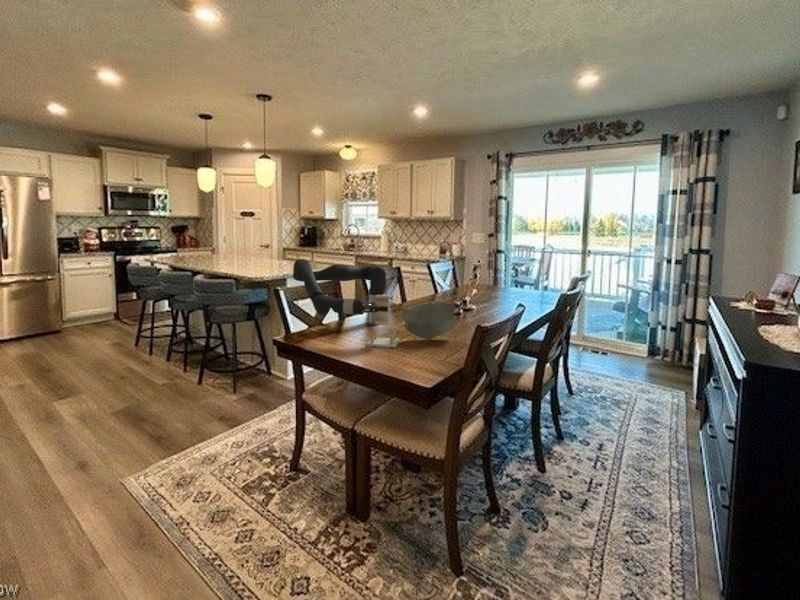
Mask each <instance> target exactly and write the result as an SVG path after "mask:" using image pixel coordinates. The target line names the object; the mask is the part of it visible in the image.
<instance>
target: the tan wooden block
mask: <svg viewBox="0 0 800 600" xmlns="http://www.w3.org/2000/svg"><path fill="white" fill-rule="evenodd" d="M390 298H391V295H389V294H385V295H377V296H376V306H382V307H388V311H387V312H386V311H379V312H376V324H375V325H376V326H389V325H390V314H391V313H390V312H391V311H390V307H391V306H390V305H391V304H390V302H391V300H390Z"/></svg>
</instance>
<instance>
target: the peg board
mask: <svg viewBox="0 0 800 600" xmlns="http://www.w3.org/2000/svg"><path fill="white" fill-rule="evenodd" d="M396 334H397V332H396V331H394V330H393V331H392V334H391V335H389V337H378V331H377V330H374V331H373V334H370V339H369V340H368V341H367V343H366V347H372V346H376V347H375V348H390V347H393V349H394V348H397V346H398V344H399V342H400V338H398V337H396Z"/></svg>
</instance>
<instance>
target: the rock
mask: <svg viewBox="0 0 800 600" xmlns="http://www.w3.org/2000/svg"><path fill="white" fill-rule="evenodd" d="M455 309H456V308H455V305H454V304H453V303H448V302H445V301H433V300H428V301H426V302H422V303H419V304H416V305H412V306H406V307H404V308H403V309H402V313H401V315H402V319H403V321H404V323H405V324H404V325H403V327H404V330H406V331H407V332H408V333H410V334H412V335H414V336H416V337H418V338H419V337H420V338H422V339H425V340H428V339H429V340H430V339H431V340H432V339H433V338H438V337H439V336H443V335H444V334H446V333H448V332H450V331H452V330H454V326H455Z"/></svg>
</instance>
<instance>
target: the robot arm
mask: <svg viewBox="0 0 800 600" xmlns="http://www.w3.org/2000/svg"><path fill="white" fill-rule="evenodd" d="M292 269H293V271H292V278H293V279H294V280H295V281H298V282H303V283H304V284H303V285H304V287H305V291H306V294H307V296H308V297H309V299H310V301H311V302H312V305H313V309H314V310H315V312H316V313H317V315H320V316H326V315H327V314H329V312H330V310H332V312H333V313H337V314H348V315H360V316H361V315H362V316H363V315H364V313H367V314H368V324H370V325H376V312H379V311H386V312H387V311H388V307H382V306H376V296H377V295H386V293H385V292H386V289H387V273H386V270H385V269H384V268H383V267H381V266H379V265H369V266H357V265H348V264H332V265H330V266H328V267H325V268H324V269H321V270H316V271H313V267H312V264H311V263H310V261H309V260H307V259H304V258H300V259H296V260H295V261H294V263H293V268H292ZM356 280H363V281H370V286H369V289H368V302H367V303H366V302H365V300H364V299H362V298H336V297H334V296H330V295H328V294H327V295H326V294H324V293H323V290H322V289H321V287H320V285H319V283H318V281H320V282H321V281H324V282H325V281H327V282H328V281H331V282H332V281H334V282H350V281H356Z"/></svg>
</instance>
